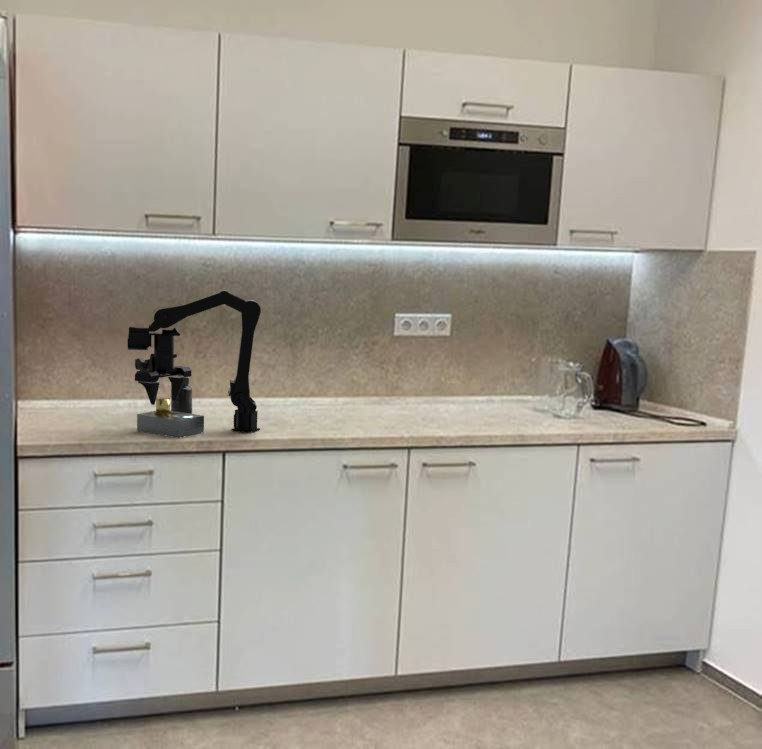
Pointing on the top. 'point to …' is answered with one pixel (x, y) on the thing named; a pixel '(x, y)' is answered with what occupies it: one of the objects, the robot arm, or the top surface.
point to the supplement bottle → (183, 400)
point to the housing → (171, 423)
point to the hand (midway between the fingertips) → (163, 402)
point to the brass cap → (163, 407)
